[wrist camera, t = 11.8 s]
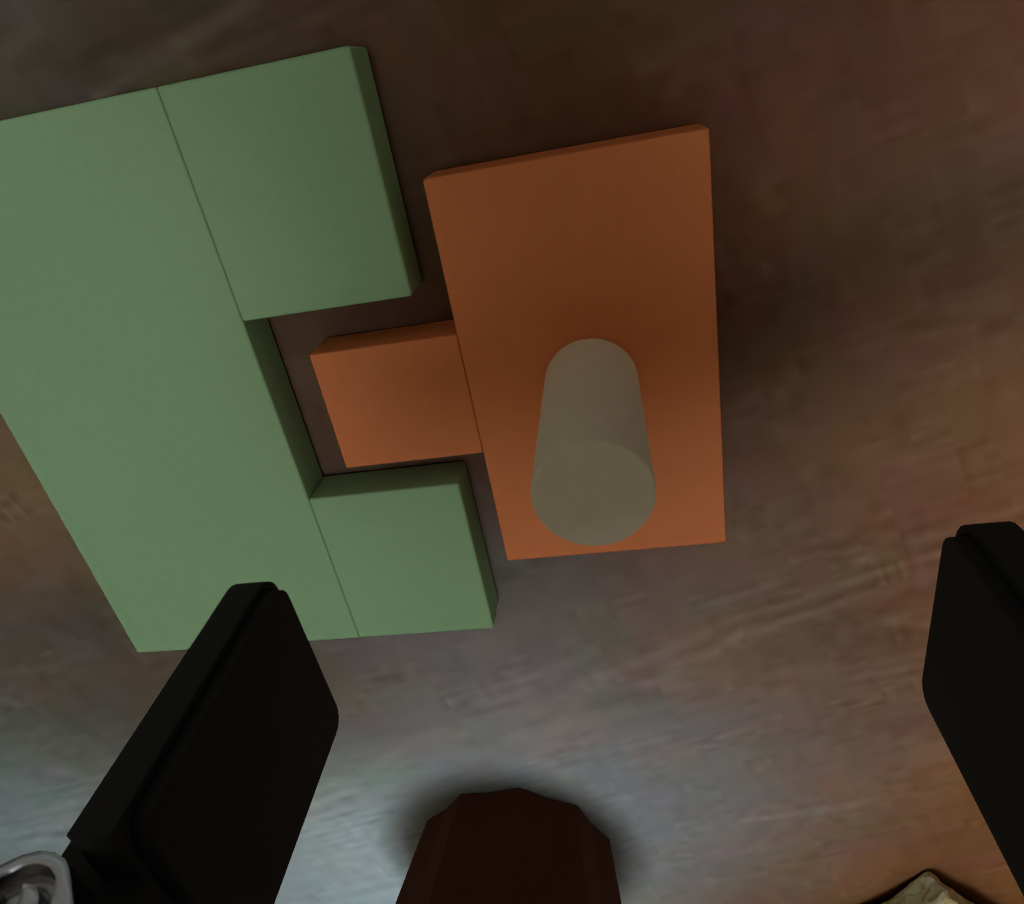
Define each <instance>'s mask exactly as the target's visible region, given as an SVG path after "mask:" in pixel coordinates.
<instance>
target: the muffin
mask: <svg viewBox="0 0 1024 904" xmlns="http://www.w3.org/2000/svg"><path fill="white" fill-rule="evenodd" d="M396 904H621V899H620V894H619V888H618V883H617V878H616V872H615V867H614V862H613V856H612V851H611V846H610V840H609V839H608V838H607V837H606V836H605V835H603V834H602V833H601V832H600V831H599V830H598V829H596V828H595V827H594V826H593V825H592V824H591V823H590V822H589V820H588V819H587V818H586V816H585V815H584V814H583V813H582V811H581V810H580V809H579V807H578V806H576V805H572V804H568V803H564V802H559V801H555V800H551V799H547V798H545V797H542V796H539V795H537V794H534V793H531V792H529V791H526V790H523V789H521V788H516V789H510V790H505V791H499V792H494V793H480V794H461V795H460V796H459V797H458V798H457V799H456V800H455V801H454V802H453V803H452V804H451V805H450V806H449V807H448V808H447V809H446V810H444V811H442V812H441V813H439V814H438V815H436V816H434V817H433V818H431V819H430V820H428V821H427V823H426V825H425V828H424V830H423V833H422V836H421V838H420V841H419V843H418V846H417V849H416V851H415V854H414V857H413V859H412V862H411V864H410V867H409V870H408V872H407V875H406V877H405V880H404V883H403V885H402V888H401V891H400V893H399V896H398V898H397V901H396Z"/></svg>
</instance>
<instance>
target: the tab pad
mask: <svg viewBox="0 0 1024 904" xmlns="http://www.w3.org/2000/svg"><path fill="white" fill-rule="evenodd" d="M423 183H424V188H425V192H426V196H427V201H428V205H429V210H430V214H431V219H432V223H433V228H434V232H435V237H436V241H437V246H438V250H439V255H440V259H441V264H442V268H443V273H444V277H445V282H446V286H447V291H448V295H449V300H450V304H451V309H452V313H453V318H454V320H447V321H440V322H433V323H426V324H419V325H412V326H406V327H399V328H392V329H385V330H378V331H371V332H364V333H357V334H350V335H343V336H336V337H329V338H326V339H325V340H324V341H323V342H322V343H321V344H320V345H319V346H318V347H317V348H316V349H315V350H314V351H313V353H312V354H311V355H310V358H311V361H312V365H313V368H314V371H315V374H316V377H317V380H318V383H319V386H320V389H321V392H322V395H323V398H324V401H325V404H326V407H327V410H328V413H329V416H330V419H331V422H332V425H333V428H334V431H335V434H336V437H337V440H338V443H339V446H340V449H341V452H342V455H343V458H344V461H345V464H346V467H348V468H349V467H358V466H367V465H376V464H385V463H394V462H403V461H412V460H421V459H430V458H439V457H448V456H457V455H466V454H475V453H482V452H483V453H484V457H485V462H486V466H487V470H488V475H489V479H490V484H491V488H492V493H493V497H494V502H495V506H496V511H497V515H498V520H499V524H500V529H501V533H502V538H503V542H504V547H505V551H506V556H507V559H508V560H519V559H531V558H543V557H554V556H566V555H578V554H589V553H601V552H613V551H625V550H636V549H648V548H660V547H672V546H683V545H695V544H707V543H719V542H725V541H726V531H725V506H724V481H723V457H722V432H721V408H720V383H719V358H718V334H717V309H716V285H715V260H714V235H713V211H712V186H711V162H710V137H709V129H708V128H706V127H705V126H703V125H701V124H692V125H687V126H681V127H676V128H670V129H665V130H659V131H654V132H648V133H643V134H637V135H631V136H626V137H620V138H615V139H609V140H604V141H598V142H593V143H587V144H582V145H576V146H571V147H565V148H560V149H554V150H549V151H543V152H538V153H532V154H527V155H521V156H516V157H510V158H505V159H499V160H494V161H488V162H482V163H477V164H471V165H466V166H460V167H455V168H449V169H444V170H438V171H435V172H433V173H432V174H431V175H429V176H428V177H427V178H425V179H424V180H423Z"/></svg>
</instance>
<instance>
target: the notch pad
mask: <svg viewBox="0 0 1024 904" xmlns="http://www.w3.org/2000/svg"><path fill="white" fill-rule="evenodd" d="M421 281H422V279H421V274H420V270H419V266H418V262H417V258H416V253H415V249H414V245H413V241H412V237H411V232H410V228H409V224H408V220H407V216H406V211H405V207H404V203H403V199H402V195H401V190H400V186H399V182H398V178H397V174H396V169H395V165H394V161H393V157H392V153H391V148H390V144H389V140H388V136H387V132H386V127H385V123H384V119H383V115H382V111H381V106H380V102H379V98H378V94H377V90H376V85H375V81H374V77H373V73H372V69H371V64H370V60H369V56H368V52H367V49H366V47H360V46H344V47H339V48H335V49H330V50H325V51H321V52H316V53H311V54H307V55H302V56H298V57H293V58H288V59H284V60H279V61H274V62H270V63H265V64H261V65H256V66H251V67H247V68H242V69H237V70H233V71H228V72H223V73H219V74H214V75H210V76H205V77H200V78H196V79H191V80H186V81H182V82H177V83H173V84H168V85H163V86H160V87H154V88H149V89H145V90H140V91H135V92H131V93H126V94H121V95H117V96H112V97H108V98H103V99H98V100H94V101H89V102H84V103H80V104H75V105H71V106H66V107H61V108H57V109H52V110H47V111H43V112H38V113H33V114H29V115H24V116H20V117H15V118H10V119H6V120H1V121H0V413H1V415H2V416H3V418H4V420H5V422H6V423H7V425H8V427H9V429H10V430H11V432H12V434H13V436H14V437H15V439H16V441H17V443H18V444H19V446H20V448H21V449H22V451H23V453H24V455H25V456H26V458H27V460H28V462H29V463H30V465H31V467H32V469H33V470H34V472H35V474H36V476H37V477H38V479H39V481H40V483H41V484H42V486H43V488H44V490H45V491H46V493H47V495H48V497H49V498H50V500H51V502H52V504H53V505H54V507H55V509H56V510H57V512H58V514H59V516H60V517H61V519H62V521H63V523H64V524H65V526H66V528H67V530H68V531H69V533H70V535H71V537H72V538H73V540H74V542H75V544H76V545H77V547H78V549H79V551H80V552H81V554H82V556H83V558H84V559H85V561H86V563H87V565H88V566H89V568H90V570H91V572H92V573H93V575H94V577H95V578H96V580H97V582H98V584H99V585H100V587H101V589H102V591H103V592H104V594H105V596H106V598H107V599H108V601H109V603H110V605H111V606H112V608H113V610H114V612H115V613H116V615H117V617H118V619H119V620H120V622H121V624H122V626H123V627H124V629H125V631H126V633H127V634H128V636H129V638H130V639H131V641H132V643H133V645H134V646H135V648H136V650H137V652H153V651H168V650H182V649H189V648H190V646H191V645H192V643H193V642H194V640H195V639H196V637H197V636H198V634H199V633H200V631H201V630H202V628H203V627H204V625H205V624H206V622H207V621H208V619H209V617H210V616H211V614H212V613H213V611H214V610H215V608H216V607H217V605H218V604H219V602H220V601H221V599H222V598H223V596H224V595H225V593H226V592H227V590H228V589H229V588H230V587H231V586H232V585H235V584H241V583H253V582H266V581H269V582H273V583H274V584H275V585H276V586H277V588H278V589H279V590H284V591H285V592H287V594H288V595H289V597H290V600H291V602H292V604H293V606H294V609H295V611H296V613H297V616H298V618H299V620H300V623H301V625H302V627H303V630H304V632H305V634H306V636H307V639H308V641H313V640H327V639H341V638H356V637H359V636H360V637H368V636H382V635H397V634H411V633H426V632H440V631H455V630H469V629H483V628H493V627H494V622H495V616H496V609H497V603H498V598H497V593H496V589H495V585H494V581H493V577H492V572H491V568H490V564H489V560H488V556H487V551H486V547H485V543H484V539H483V535H482V530H481V526H480V522H479V518H478V514H477V509H476V505H475V501H474V497H473V493H472V488H471V484H470V480H469V476H468V472H467V467H466V463H465V462H464V461H460V462H451V463H442V464H433V465H424V466H415V467H406V468H397V469H387V470H378V471H369V472H360V473H351V474H342V475H333V476H325V477H323V476H322V473H321V470H320V467H319V464H318V462H317V459H316V456H315V453H314V450H313V447H312V445H311V442H310V439H309V436H308V433H307V430H306V427H305V425H304V422H303V419H302V416H301V413H300V410H299V408H298V405H297V402H296V399H295V396H294V393H293V390H292V388H291V385H290V382H289V379H288V376H287V373H286V371H285V368H284V365H283V362H282V359H281V356H280V353H279V351H278V348H277V345H276V342H275V339H274V336H273V334H272V331H271V328H270V325H269V322H268V319H267V318H269V317H275V316H282V315H288V314H295V313H302V312H308V311H315V310H321V309H328V308H335V307H341V306H348V305H354V304H361V303H368V302H374V301H381V300H387V299H394V298H401V297H407V296H411V295H412V293H413V292H414V291H415V289H416V288H417V287H418V285H419V284H420V283H421Z"/></svg>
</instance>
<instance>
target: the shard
mask: <svg viewBox="0 0 1024 904" xmlns="http://www.w3.org/2000/svg"><path fill="white" fill-rule="evenodd" d="M882 904H975V903H973V902H970V901H968V900H967V899H964V898H963V897H962V896H961V895H959V894H958V893H956V892H955V891H954V890H953V889H951V888H950V887H948V886H946V885H945V884H943V883H941V882H940V880H939V879H938V878H937V877H936V876H935V875H934V874H933V873H931V872H929V871H928V872H924V873H923V874H921V875H920V876H919V877H918V878H917V879H915V880H914V881H912V882H911V883H910V884H909V885H908V886H907V887H905V888H904V889H903V890H901V891H900V892H899V893H898V894H897V895H895V896H894V897H893V898H892V899H890V900H889V901H886V902H884V903H882Z"/></svg>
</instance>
